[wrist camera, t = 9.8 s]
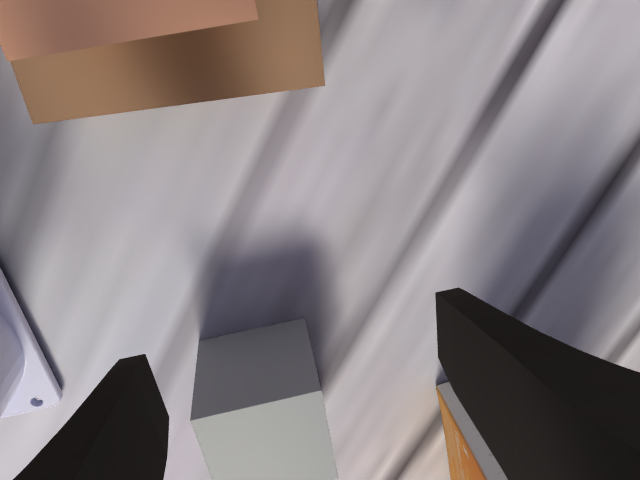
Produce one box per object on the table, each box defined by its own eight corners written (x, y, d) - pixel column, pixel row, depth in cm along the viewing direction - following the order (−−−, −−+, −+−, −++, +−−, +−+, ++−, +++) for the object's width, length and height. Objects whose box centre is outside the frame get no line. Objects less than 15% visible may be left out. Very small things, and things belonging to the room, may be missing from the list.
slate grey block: (224, 417, 25) (222, 506, 20) (198, 339, 23) (190, 420, 18) (320, 395, 25) (338, 478, 21) (304, 316, 23) (321, 390, 18)
